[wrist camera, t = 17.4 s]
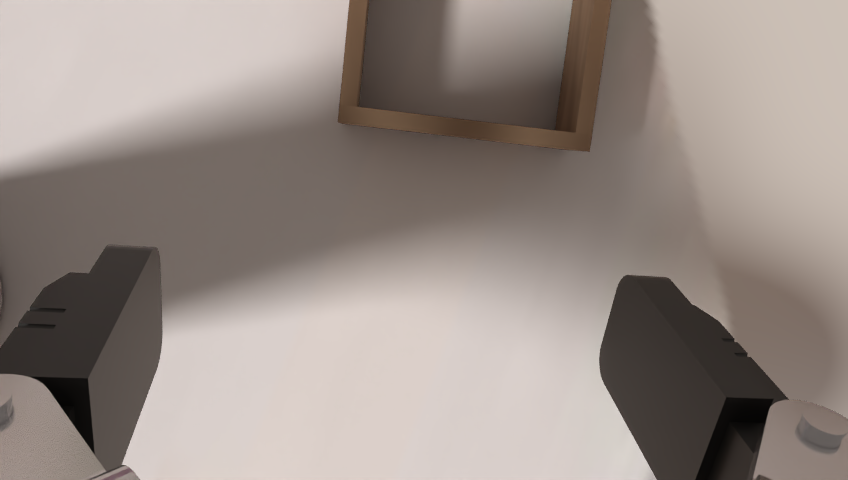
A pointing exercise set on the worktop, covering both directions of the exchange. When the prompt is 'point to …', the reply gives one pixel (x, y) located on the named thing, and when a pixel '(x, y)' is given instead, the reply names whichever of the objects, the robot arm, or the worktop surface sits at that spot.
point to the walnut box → (568, 133)
